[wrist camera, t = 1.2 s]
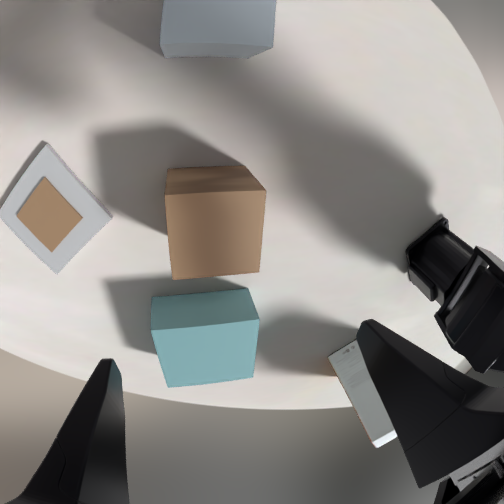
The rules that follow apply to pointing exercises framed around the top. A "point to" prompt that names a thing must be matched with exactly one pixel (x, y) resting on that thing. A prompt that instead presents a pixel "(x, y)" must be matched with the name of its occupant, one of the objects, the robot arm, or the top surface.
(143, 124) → the top surface
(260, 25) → the grey cube
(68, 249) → the tile
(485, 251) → the robot arm
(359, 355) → the small box
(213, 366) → the teal base block
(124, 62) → the top surface
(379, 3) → the top surface
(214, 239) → the walnut cube
